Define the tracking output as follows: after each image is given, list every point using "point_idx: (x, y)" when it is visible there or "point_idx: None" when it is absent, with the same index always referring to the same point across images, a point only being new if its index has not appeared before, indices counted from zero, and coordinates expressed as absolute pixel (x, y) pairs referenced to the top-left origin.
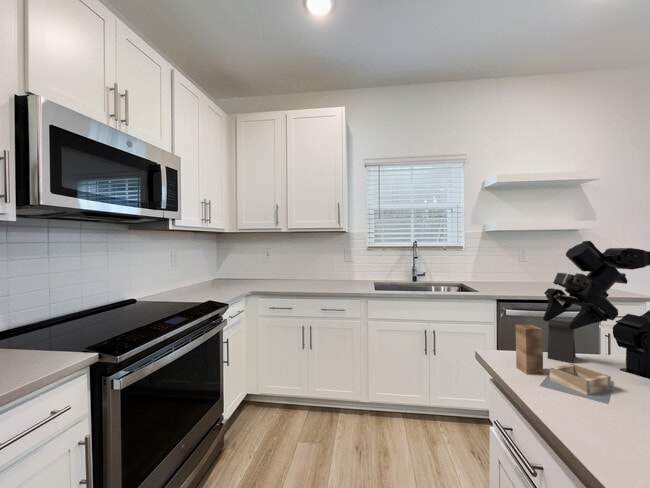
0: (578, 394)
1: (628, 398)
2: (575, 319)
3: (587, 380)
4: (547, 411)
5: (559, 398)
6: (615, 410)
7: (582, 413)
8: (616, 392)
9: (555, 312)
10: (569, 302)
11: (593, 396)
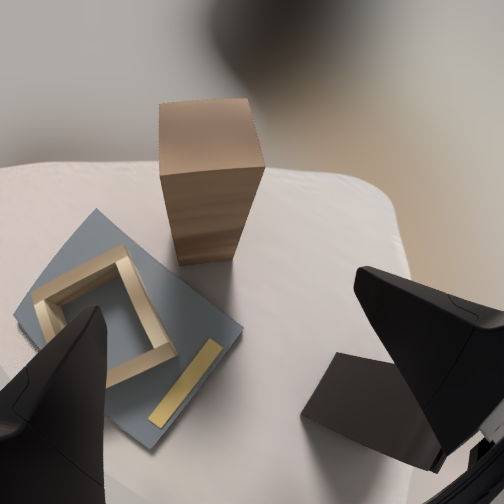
0: (49, 278)
1: None
2: (51, 348)
3: (35, 300)
4: (23, 185)
5: (58, 237)
6: (14, 326)
7: (8, 245)
8: None
9: (418, 360)
10: (442, 490)
11: None
